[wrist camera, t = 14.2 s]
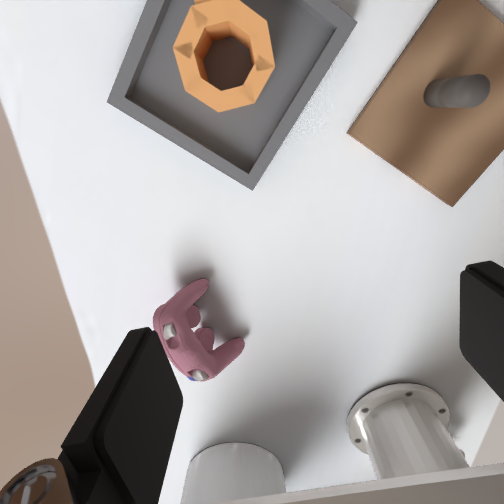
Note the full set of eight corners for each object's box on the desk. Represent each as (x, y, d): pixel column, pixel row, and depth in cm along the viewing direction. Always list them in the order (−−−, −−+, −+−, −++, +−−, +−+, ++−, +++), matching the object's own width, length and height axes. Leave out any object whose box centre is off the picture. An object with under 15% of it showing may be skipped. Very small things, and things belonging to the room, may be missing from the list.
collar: (253, -17, 23) (254, -47, 18) (274, 98, 26) (280, 96, 22) (172, 7, 24) (154, -17, 19) (202, 116, 27) (193, 119, 22)
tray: (349, 28, 25) (357, 22, 23) (252, 185, 30) (252, 190, 28) (196, -95, 22) (192, -113, 20) (116, 102, 27) (106, 102, 25)
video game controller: (177, 278, 35) (134, 324, 30) (208, 272, 33) (167, 322, 27) (219, 344, 39) (187, 395, 34) (250, 344, 36) (221, 399, 31)
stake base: (555, 81, 26) (629, 75, 21) (447, 204, 31) (487, 224, 25) (449, -17, 24) (505, -50, 19) (346, 133, 28) (369, 139, 23)
